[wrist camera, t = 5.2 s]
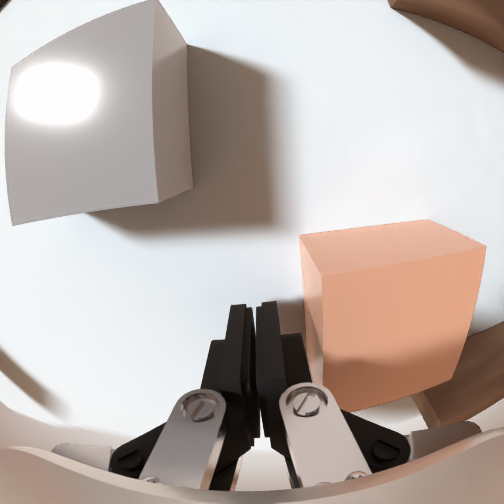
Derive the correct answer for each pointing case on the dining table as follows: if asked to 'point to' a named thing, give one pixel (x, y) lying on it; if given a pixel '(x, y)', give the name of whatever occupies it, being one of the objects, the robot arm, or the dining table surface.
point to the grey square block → (99, 118)
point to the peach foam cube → (387, 308)
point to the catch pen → (500, 336)
